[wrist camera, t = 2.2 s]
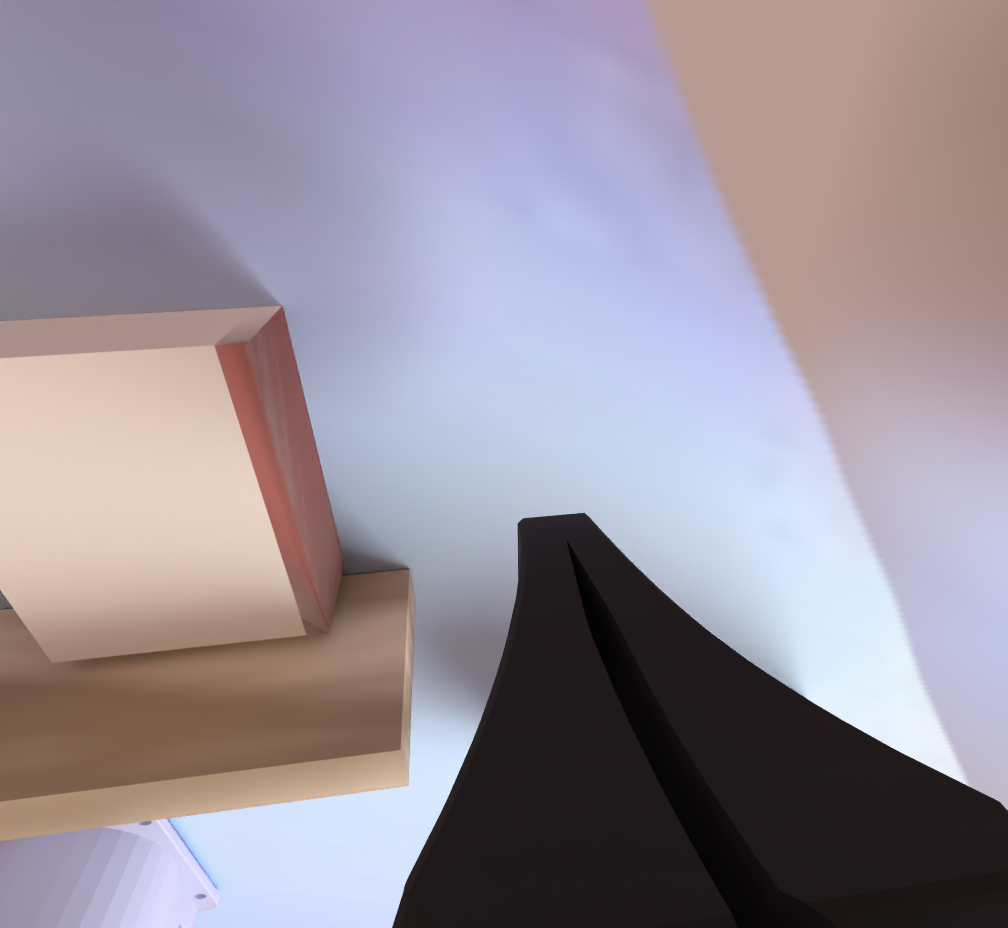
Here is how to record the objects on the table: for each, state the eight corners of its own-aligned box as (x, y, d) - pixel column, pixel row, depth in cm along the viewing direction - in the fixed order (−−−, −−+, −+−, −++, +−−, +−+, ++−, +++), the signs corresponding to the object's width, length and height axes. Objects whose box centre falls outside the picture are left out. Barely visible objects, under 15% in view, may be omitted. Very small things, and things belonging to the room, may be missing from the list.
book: (345, 558, 17) (329, 632, 14) (111, 581, 16) (51, 662, 14) (284, 303, 13) (246, 343, 10) (-33, 320, 12) (-158, 368, 9)
